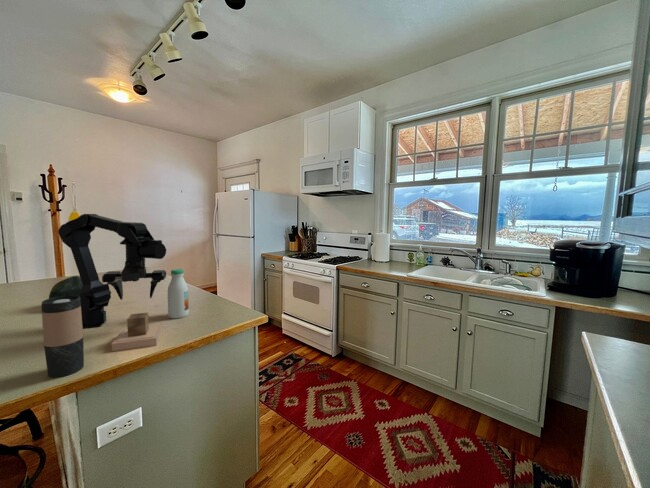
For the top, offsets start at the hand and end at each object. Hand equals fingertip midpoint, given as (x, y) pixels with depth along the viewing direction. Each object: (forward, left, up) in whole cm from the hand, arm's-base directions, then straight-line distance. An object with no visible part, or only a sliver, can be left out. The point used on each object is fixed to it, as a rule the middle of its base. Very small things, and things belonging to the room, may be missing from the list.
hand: (136, 298), depth 100 cm
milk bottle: (+13, +10, -12) cm, 20 cm away
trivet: (+3, -11, -12) cm, 16 cm away
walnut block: (+3, -11, -9) cm, 15 cm away
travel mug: (-11, -25, -12) cm, 30 cm away
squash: (-32, +38, -12) cm, 51 cm away
